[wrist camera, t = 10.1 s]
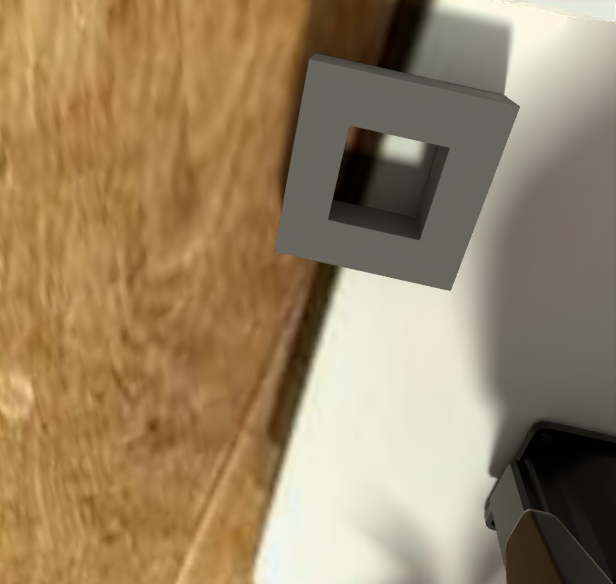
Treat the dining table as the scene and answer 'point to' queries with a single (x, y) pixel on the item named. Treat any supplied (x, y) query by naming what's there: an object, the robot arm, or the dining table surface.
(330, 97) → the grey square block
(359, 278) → the dining table surface
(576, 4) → the divider wall
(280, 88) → the dining table surface
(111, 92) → the dining table surface
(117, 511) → the dining table surface
